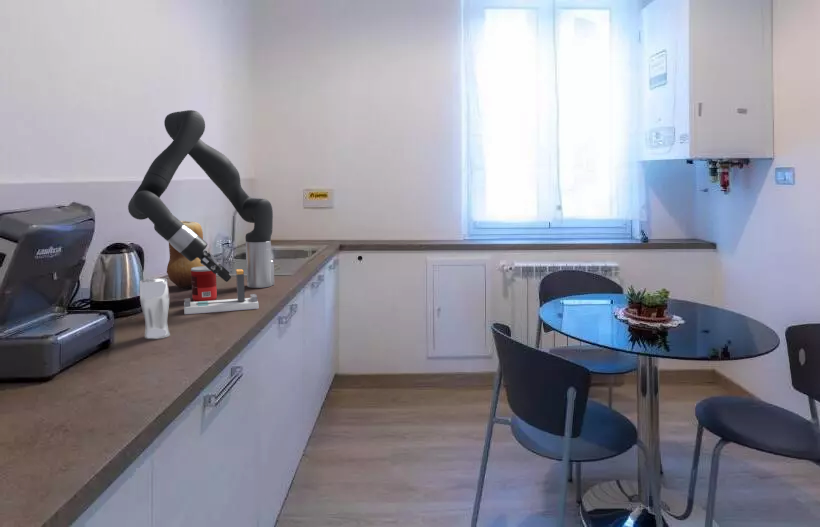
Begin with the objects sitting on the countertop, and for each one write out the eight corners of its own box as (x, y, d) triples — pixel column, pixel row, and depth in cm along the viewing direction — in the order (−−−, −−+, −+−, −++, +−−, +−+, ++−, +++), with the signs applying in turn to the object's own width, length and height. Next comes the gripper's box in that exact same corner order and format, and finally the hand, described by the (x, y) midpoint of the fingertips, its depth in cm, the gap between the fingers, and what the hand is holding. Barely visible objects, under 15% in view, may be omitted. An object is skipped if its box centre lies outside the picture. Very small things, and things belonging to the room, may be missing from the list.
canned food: (221, 298, 198) (220, 266, 197) (206, 303, 191) (204, 270, 189) (203, 296, 201) (201, 265, 199) (187, 301, 193) (185, 269, 192)
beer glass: (161, 331, 156) (158, 276, 154) (177, 335, 152) (174, 279, 150) (137, 337, 150) (133, 280, 148) (152, 341, 147) (148, 283, 144)
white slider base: (184, 314, 175) (183, 303, 175) (184, 308, 183) (183, 297, 182) (258, 308, 183) (258, 297, 183) (255, 303, 191) (255, 293, 190)
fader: (238, 301, 183) (237, 271, 181) (237, 299, 186) (236, 269, 185) (244, 301, 183) (243, 271, 182) (243, 298, 187) (242, 269, 186)
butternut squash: (205, 289, 213) (201, 222, 209) (166, 291, 209) (162, 222, 205) (206, 283, 226) (203, 219, 222) (169, 284, 222) (165, 220, 218)
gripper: (196, 236, 171) (238, 272, 176) (196, 231, 184) (235, 265, 190) (178, 254, 170) (221, 290, 175) (179, 249, 183) (218, 282, 188)
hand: (228, 277), depth 182 cm, fingers open, 8 cm apart
